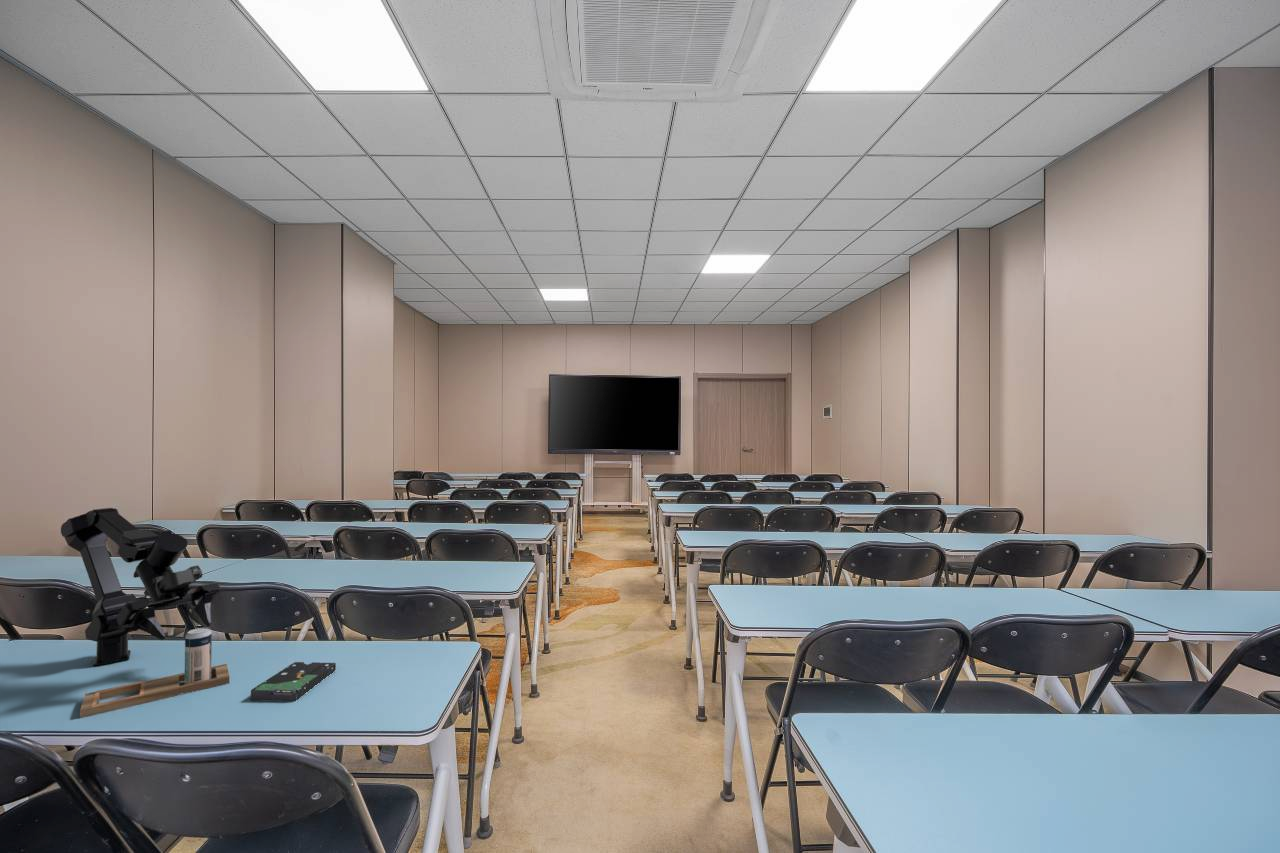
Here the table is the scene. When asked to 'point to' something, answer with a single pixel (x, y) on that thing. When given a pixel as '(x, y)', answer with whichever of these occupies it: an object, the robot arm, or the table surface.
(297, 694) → the disk drive
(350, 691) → the table surface
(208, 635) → the white cylinder
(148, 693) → the wooden tray
